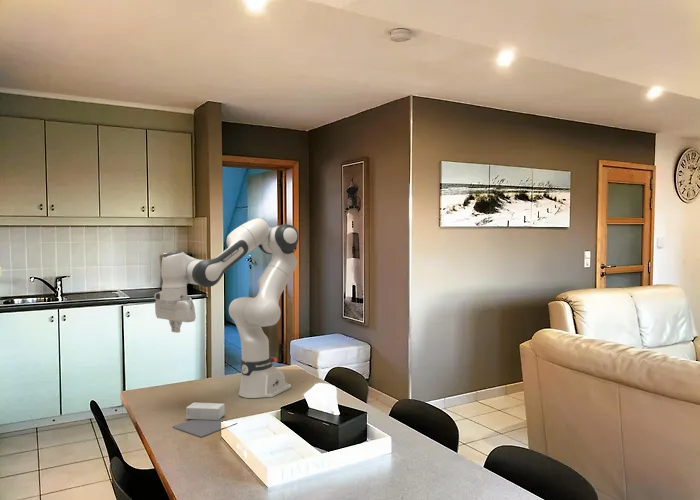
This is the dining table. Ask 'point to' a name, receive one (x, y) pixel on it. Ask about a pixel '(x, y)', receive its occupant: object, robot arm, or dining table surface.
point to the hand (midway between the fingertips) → (175, 332)
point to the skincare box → (205, 411)
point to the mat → (200, 427)
